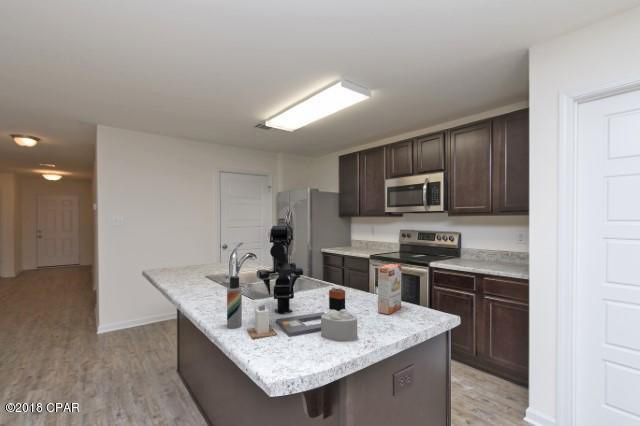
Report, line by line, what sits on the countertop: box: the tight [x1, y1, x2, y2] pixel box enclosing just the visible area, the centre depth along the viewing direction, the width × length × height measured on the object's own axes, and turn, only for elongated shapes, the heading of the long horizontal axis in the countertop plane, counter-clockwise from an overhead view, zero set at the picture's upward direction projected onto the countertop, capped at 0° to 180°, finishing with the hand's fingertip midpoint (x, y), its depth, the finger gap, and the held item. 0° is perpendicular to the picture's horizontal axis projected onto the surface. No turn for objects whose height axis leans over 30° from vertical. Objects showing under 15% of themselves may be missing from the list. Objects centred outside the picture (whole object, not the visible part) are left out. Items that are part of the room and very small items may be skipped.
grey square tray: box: [274, 311, 326, 338], centre depth 124 cm, size 17×22×2 cm
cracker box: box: [377, 263, 402, 316], centre depth 143 cm, size 14×6×21 cm, turn 143°
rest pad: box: [246, 324, 278, 340], centre depth 116 cm, size 10×9×1 cm
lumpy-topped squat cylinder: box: [320, 308, 359, 342], centre depth 113 cm, size 10×13×9 cm
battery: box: [328, 287, 346, 311], centre depth 146 cm, size 4×7×10 cm, turn 53°
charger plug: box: [254, 304, 270, 334], centre depth 116 cm, size 5×4×10 cm
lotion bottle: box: [226, 275, 243, 329], centre depth 124 cm, size 6×6×20 cm
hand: (280, 293), depth 128 cm, fingers open, 9 cm apart
